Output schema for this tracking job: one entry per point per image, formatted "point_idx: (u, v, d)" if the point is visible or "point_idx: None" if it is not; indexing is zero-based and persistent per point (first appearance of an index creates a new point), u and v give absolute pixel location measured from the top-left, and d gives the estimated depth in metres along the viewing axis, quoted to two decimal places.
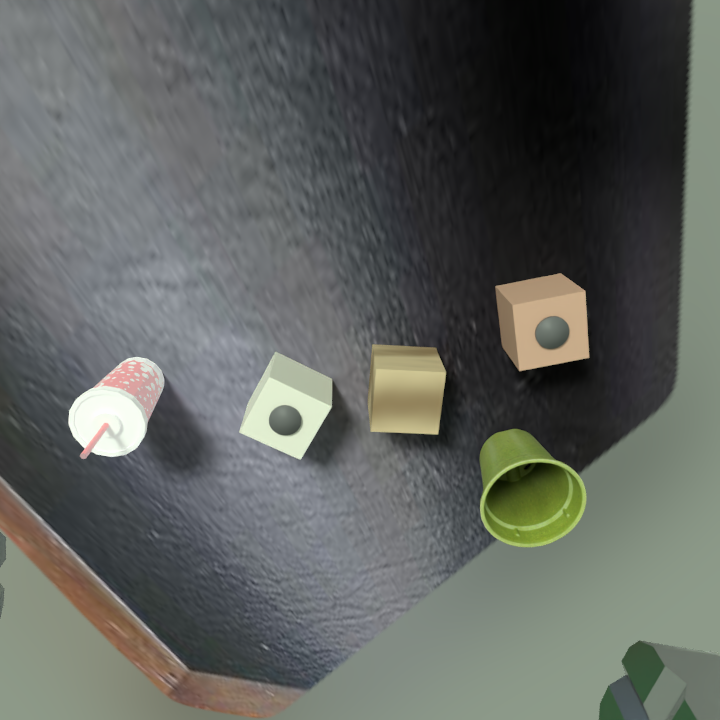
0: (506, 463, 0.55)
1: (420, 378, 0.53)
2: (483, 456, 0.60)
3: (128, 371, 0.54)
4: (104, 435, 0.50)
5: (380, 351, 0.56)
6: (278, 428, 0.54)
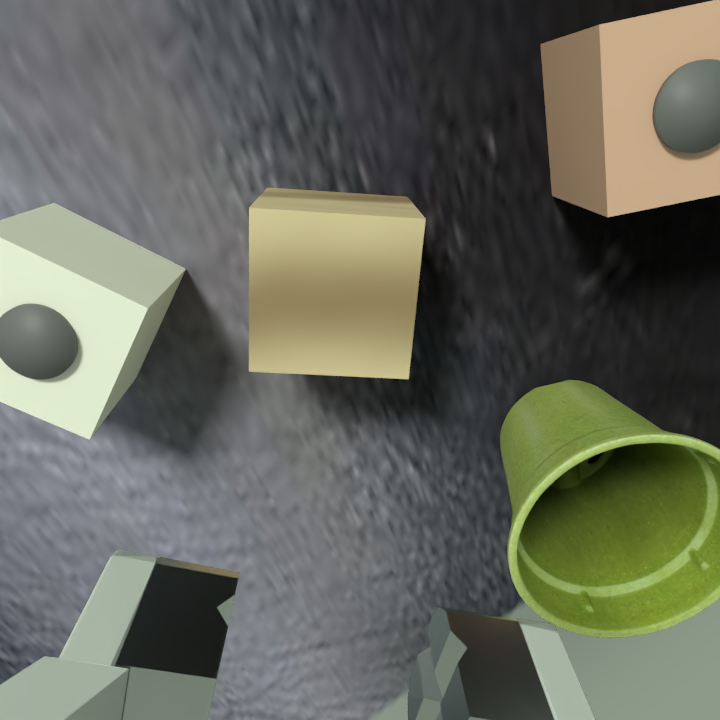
0: (570, 446, 0.23)
1: (362, 234, 0.21)
2: (509, 435, 0.29)
3: None
4: None
5: (279, 193, 0.25)
6: (21, 362, 0.22)
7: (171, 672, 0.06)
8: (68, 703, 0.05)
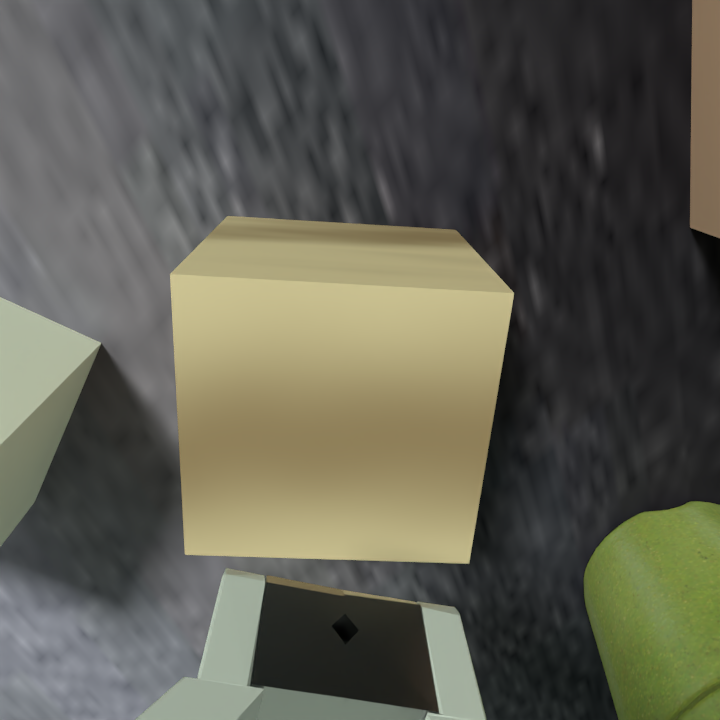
0: None
1: (391, 321, 0.11)
2: (606, 593, 0.19)
3: None
4: None
5: (243, 230, 0.14)
6: None
7: (302, 692, 0.06)
8: None
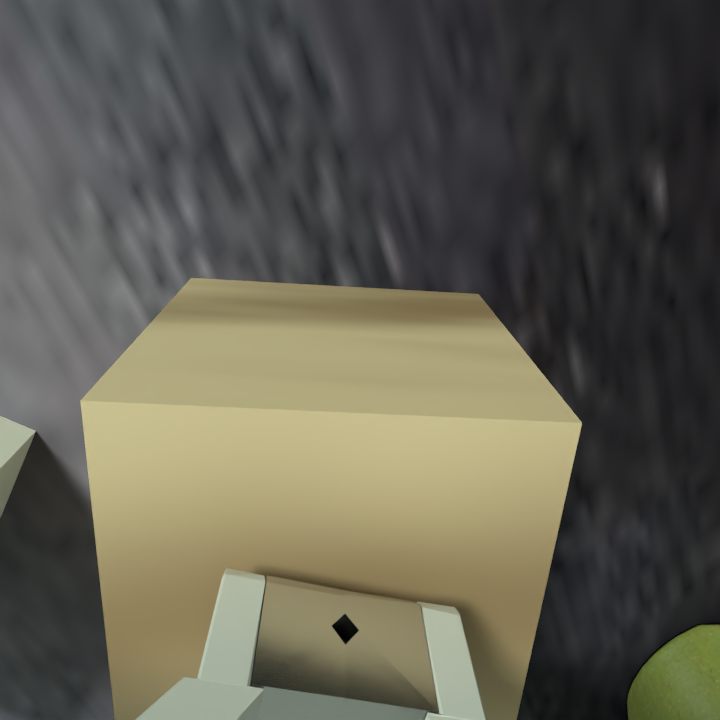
0: None
1: (403, 462, 0.08)
2: None
3: None
4: None
5: (206, 303, 0.11)
6: None
7: (301, 691, 0.06)
8: None
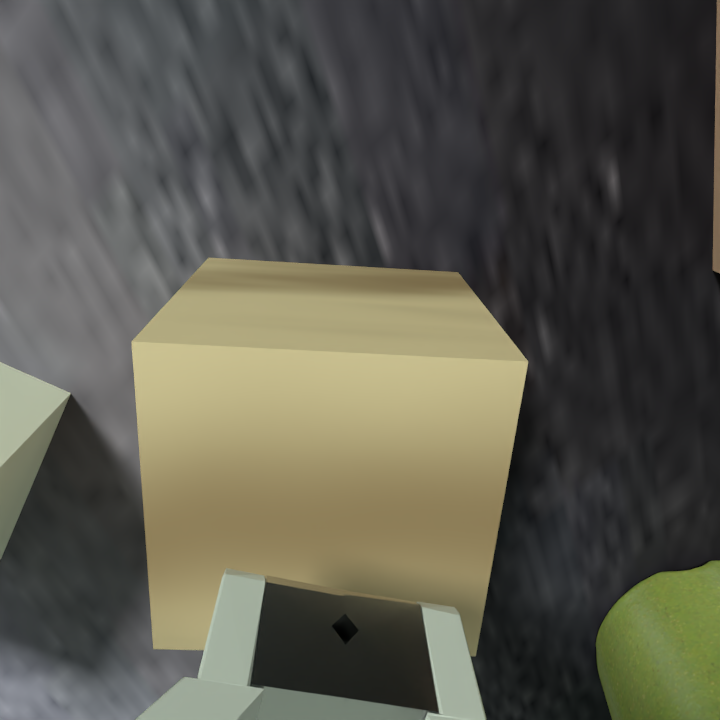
0: None
1: (386, 393, 0.10)
2: (622, 664, 0.17)
3: None
4: None
5: (223, 276, 0.13)
6: None
7: (302, 692, 0.06)
8: None
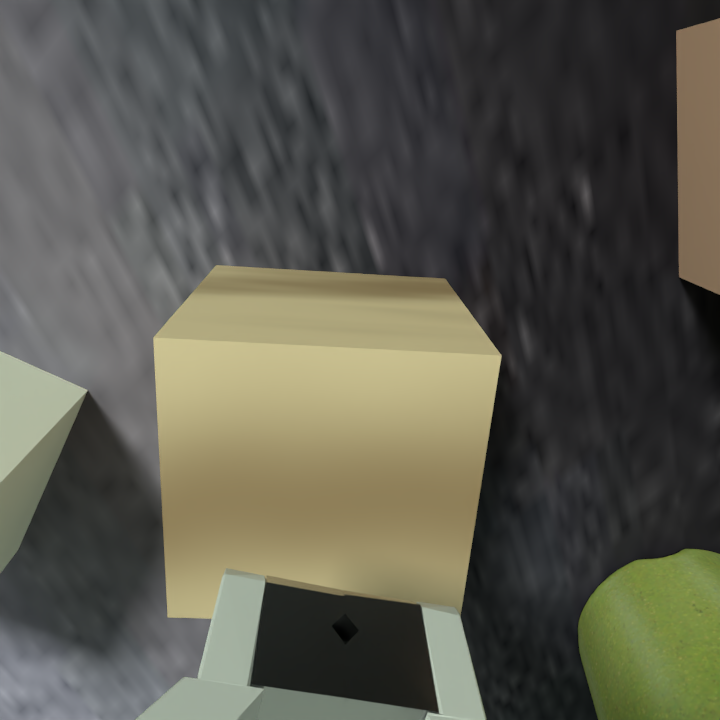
0: None
1: (377, 383, 0.11)
2: (600, 645, 0.18)
3: None
4: None
5: (230, 282, 0.14)
6: None
7: (302, 692, 0.06)
8: None
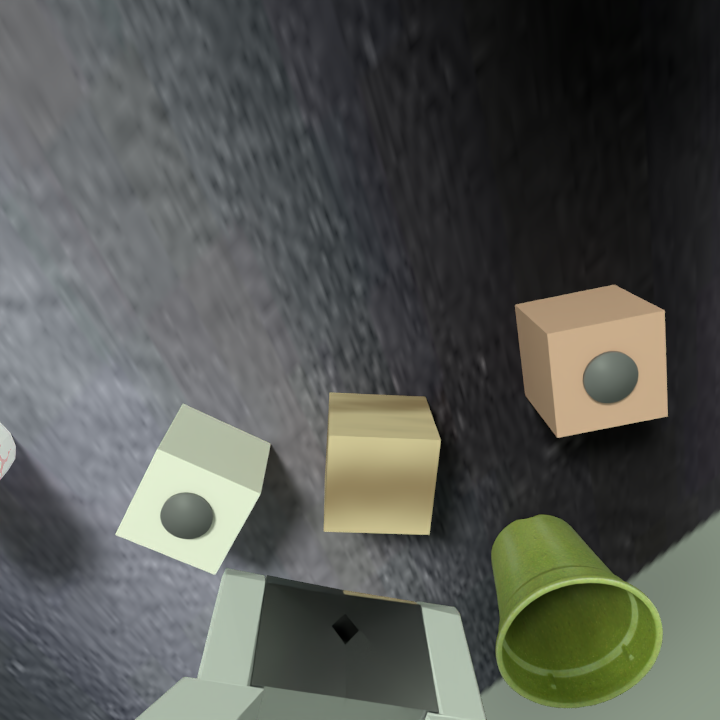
0: (536, 580, 0.35)
1: (400, 449, 0.33)
2: (497, 557, 0.41)
3: None
4: None
5: (340, 404, 0.37)
6: (176, 528, 0.34)
7: (302, 692, 0.06)
8: None
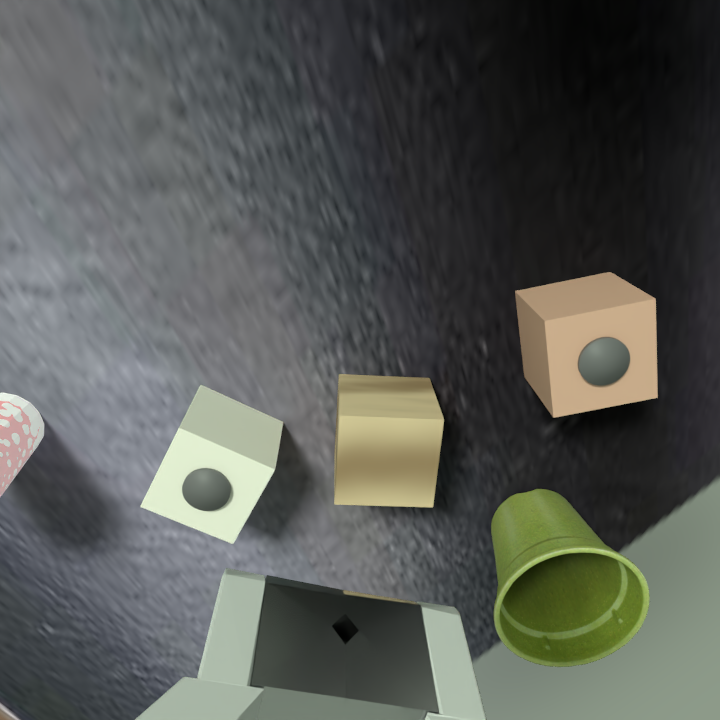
0: (532, 550, 0.37)
1: (406, 428, 0.35)
2: (496, 529, 0.43)
3: None
4: None
5: (349, 385, 0.39)
6: (197, 501, 0.36)
7: (302, 692, 0.06)
8: None
